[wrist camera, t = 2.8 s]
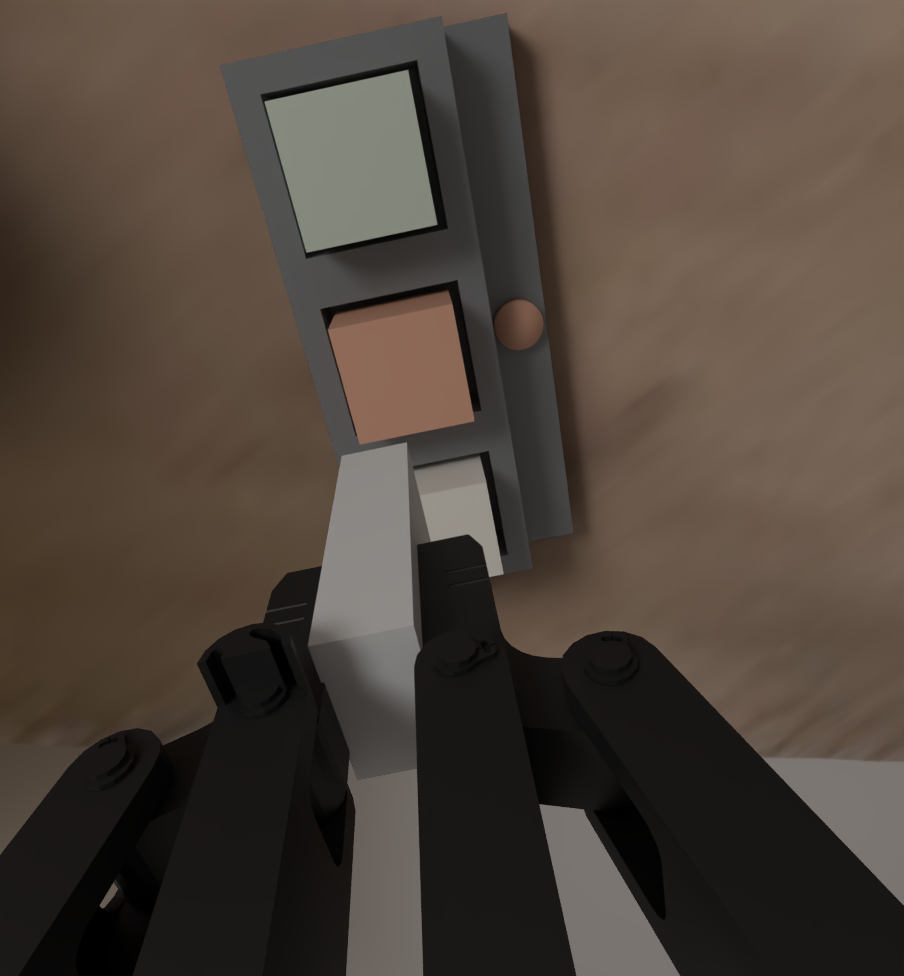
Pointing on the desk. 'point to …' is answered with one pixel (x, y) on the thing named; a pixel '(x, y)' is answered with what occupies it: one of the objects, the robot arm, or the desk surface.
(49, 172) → the desk surface
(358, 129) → the sage key
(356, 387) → the terracotta key
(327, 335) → the key console
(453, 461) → the ivory key
